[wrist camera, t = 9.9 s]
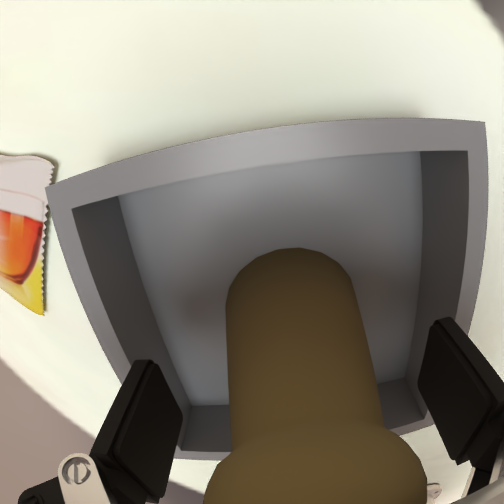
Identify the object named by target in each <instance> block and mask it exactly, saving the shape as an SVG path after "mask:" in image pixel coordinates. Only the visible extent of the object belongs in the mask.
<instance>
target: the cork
mask: <svg viewBox="0 0 504 504" xmlns="http://www.w3.org/2000/svg"><path fill="white" fill-rule="evenodd" d="M225 312H226V343H227V369H228V391H229V410H230V428H231V445H232V452H231V453H230V454H229V455H228V456H227V457H226V458H224V459H223V460H222V461H221V462H220V463H218V464H217V466H216V468H215V471H214V473H213V475H212V477H211V479H210V481H209V483H208V485H207V488H206V492H205V495H204V500H203V504H426V503H427V478H426V475H425V472H424V469H423V467H422V464H421V461H420V459H419V458H418V456H417V455H416V454H415V453H414V451H413V450H412V449H411V447H410V446H409V445H408V444H407V443H406V442H405V441H404V440H403V439H402V438H401V437H399V436H398V435H397V434H396V433H394V432H392V431H390V430H388V429H386V428H385V427H384V421H383V415H382V409H381V403H380V398H379V393H378V387H377V382H376V377H375V373H374V368H373V363H372V359H371V354H370V350H369V345H368V341H367V337H366V333H365V329H364V325H363V321H362V317H361V313H360V309H359V305H358V302H357V298H356V294H355V291H354V287H353V284H352V281H351V278H350V276H349V275H348V274H347V273H346V271H345V270H344V269H343V267H342V266H341V265H340V264H339V263H338V262H337V261H335V260H333V259H332V258H330V257H328V256H327V255H325V254H324V253H322V252H318V251H314V250H310V249H305V248H301V247H298V248H286V249H277V250H274V251H271V252H269V253H266V254H264V255H261V256H259V257H256V258H255V259H254V260H252V261H251V262H250V263H249V264H248V265H246V266H245V267H244V268H243V269H241V270H240V271H239V273H238V274H237V276H236V277H235V279H234V281H233V282H232V284H231V285H230V287H229V290H228V295H227V300H226V305H225Z"/></svg>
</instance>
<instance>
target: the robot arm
mask: <svg viewBox="0 0 504 504" xmlns="http://www.w3.org/2000/svg"><path fill="white" fill-rule="evenodd" d="M417 385H418V389H419V392H420V394H421V396H422V398H423V400H424V402H425V404H426V406H427V408H428V410H429V412H430V414H431V416H432V419H433V421H434V423H435V425H436V427H437V429H438V432H439V434H440V436H441V438H442V441H443V443H444V445H445V447H446V450H447V452H448V454H449V457H450V458H451V459H452V460H455V461H456V464H457V465H460V464H462V463H464V462H466V461H468V460H470V463H471V465H472V468H471V472H470V475H469V478H468V480H467V483H466V486H465V489H464V492H463V494H462V497H461V499H459V500H457V501H455V502H453V503H451V504H504V382H503V381H502V380H501V378H500V377H499V375H498V374H497V373H496V371H495V370H494V369H493V367H492V366H491V365H490V363H489V362H488V361H487V360H486V358H485V357H484V356H483V355H482V353H481V352H480V351H479V349H478V348H477V347H476V346H475V345H474V343H473V342H472V341H471V340H470V338H469V337H468V336H467V335H466V334H465V332H464V331H463V330H462V329H461V328H460V326H459V325H458V324H457V323H456V322H455V321H454V320H453V318H451V317H445V318H441V319H438V320H435V321H434V323H433V325H432V326H430V328H429V333H428V338H427V343H426V348H425V352H424V357H423V361H422V365H421V369H420V373H419V377H418V381H417ZM182 422H183V414H182V411H181V409H180V407H179V406H178V404H177V402H176V400H175V398H174V396H173V394H172V392H171V390H170V388H169V386H168V383H167V381H166V379H165V377H164V375H163V373H162V371H161V369H160V366H159V365H158V364H156V363H154V361H153V360H151V359H140V360H135V361H134V362H133V364H132V366H131V368H130V370H129V372H128V374H127V376H126V378H125V380H124V382H123V384H122V386H121V388H120V390H119V392H118V394H117V396H116V398H115V400H114V402H113V404H112V406H111V408H110V410H109V412H108V415H107V417H106V419H105V421H104V423H103V425H102V427H101V429H100V431H99V434H98V436H97V438H96V440H95V442H94V444H93V447H92V449H91V452H90V455H89V456H88V455H86V454H83V453H75V454H72V455H69V456H67V457H66V458H65V459H64V460H63V461H62V462H61V464H60V466H59V469H58V477H55V478H53V479H51V480H48V481H46V482H44V483H41V484H39V485H37V486H34V487H32V488H29V489H27V490H25V491H24V492H23V493H22V494H21V495H20V497H19V499H18V504H145V502H150V503H156V504H158V503H159V499H160V498H162V497H163V496H164V494H165V491H166V487H167V483H168V479H169V474H170V470H171V466H172V462H173V458H174V454H175V450H176V446H177V442H178V438H179V434H180V430H181V426H182ZM441 491H442V490H441V487H440V485H438V484H433V485H427V503H426V504H435V502H434V499H435V498H436V497H437V496H438V495H439V494H440V493H441Z"/></svg>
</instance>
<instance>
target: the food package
mask: <svg viewBox="0 0 504 504" xmlns="http://www.w3.org/2000/svg"><path fill="white" fill-rule="evenodd" d="M53 168H54V166H53V165H52V164H51V163H50V162H49V161H48V160H46V159H43V158H40V157H37V156H32V155H25V156H5V155H0V288H1V289H3V290H4V291H5V292H7V293H8V294H9V295H10V296H12V297H13V298H14V299H15V300H17V301H18V302H19V303H21V304H22V305H23V306H25V307H26V308H28V309H30V310H31V311H33V312H34V313H36V314H39V315H43V316H45V315H44V314H43V313H44V311H43V310H44V308H43V306H44V305H43V303H44V302H43V300H42V299H44V297H43V295H42V293H43V292H44V291H43V289H42V287H43V286H44V285H43V282H42V280H43V279H44V278H43V276H42V274H43V273H44V271H43V269H42V267H43V266H44V264H43V261H42V260H43V259H44V256H43V252H44V251H45V250H44V247H43V245H44V244H45V241H44V237H45V236H46V235H45V232H44V230H45V229H46V225H45V221H46V220H47V217H46V213H47V212H48V209H47V204H48V200H47V196H46V192H45V187H47V186H49V185H50V183H52V181H51V178H53V176H52V173H53V172H54V171H53Z"/></svg>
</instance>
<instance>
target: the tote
mask: <svg viewBox="0 0 504 504" xmlns="http://www.w3.org/2000/svg"><path fill="white" fill-rule="evenodd" d="M45 192H46V196H47V200H48V204H49V208H50V212H51V216H52V219H53V223H54V226H55V230H56V233H57V236H58V240H59V243H60V246H61V249H62V252H63V255H64V258H65V261H66V264H67V267H68V270H69V272H70V275H71V278H72V280H73V283H74V286H75V288H76V291H77V293H78V296H79V298H80V301H81V303H82V305H83V308H84V310H85V312H86V315H87V317H88V319H89V321H90V324H91V326H92V328H93V330H94V332H95V334H96V336H97V339H98V341H99V343H100V345H101V347H102V349H103V351H104V353H105V355H106V357H107V358H108V360H109V362H110V364H111V366H112V368H113V370H114V372H115V373H116V375H117V377H118V379H119V381H120V382H121V384H123V382H124V380H125V378H126V376H127V374H128V372H129V370H130V368H131V366H132V364H133V362H134V361H135V360H140V359H151V360H153V361H154V363H156V364H158V365H159V366H160V369H161V371H162V373H163V375H164V377H165V379H166V381H167V383H168V386H169V388H170V390H171V392H172V394H173V396H174V398H175V400H176V402H177V404H178V406H179V407H180V409H181V411H182V414H183V422H182V426H181V430H180V434H179V438H178V442H177V446H176V450H175V454H174V458H176V459H191V460H223V459H224V458H226V457H227V456H228V455H229V454H230V453H231V452H232V445H231V428H230V410H229V391H228V369H227V343H226V312H225V305H226V300H227V295H228V290H229V287H230V285H231V284H232V282H233V281H234V279H235V277H236V276H237V274H238V273H239V271H240V270H241V269H243V268H244V267H245V266H246V265H248V264H249V263H250V262H251V261H252V260H254V259H255V258H256V257H259V256H261V255H264V254H266V253H269V252H271V251H274V250H277V249H286V248H298V247H301V248H305V249H310V250H314V251H318V252H322V253H324V254H325V255H327V256H328V257H330V258H332V259H333V260H335V261H337V262H338V263H339V264H340V265H341V266H342V267H343V269H344V270H345V271H346V273H347V274H348V275H349V276H350V278H351V281H352V284H353V287H354V291H355V294H356V298H357V302H358V305H359V309H360V313H361V317H362V321H363V325H364V329H365V333H366V337H367V341H368V345H369V350H370V354H371V359H372V363H373V368H374V373H375V377H376V382H377V387H378V393H379V398H380V403H381V409H382V415H383V421H384V427H385V428H386V429H388V430H390V431H392V432H394V433H396V434H397V435H398V436H400V435H403V434H406V433H410V432H413V431H416V430H419V429H422V428H425V427H428V426H431V425H433V424H435V423H434V421H433V419H432V416H431V414H430V412H429V410H428V408H427V406H426V404H425V402H424V400H423V398H422V396H421V394H420V392H419V389H418V385H417V381H418V377H419V373H420V369H421V365H422V361H423V357H424V352H425V348H426V343H427V338H428V333H429V328H430V326H432V325H433V323H434V321H435V320H438V319H441V318H445V317H451V318H453V320H454V321H455V322H456V323H457V324H458V325H459V326H460V328H461V329H462V330H463V331H464V332H465V334H466V335H467V336H468V332H469V329H470V325H471V321H472V317H473V312H474V308H475V303H476V299H477V294H478V289H479V283H480V277H481V271H482V264H483V257H484V249H485V240H486V229H487V214H488V153H487V138H486V128H485V122H480V121H469V120H454V119H434V118H375V119H353V120H338V121H325V122H314V123H305V124H296V125H287V126H280V127H272V128H265V129H259V130H252V131H246V132H240V133H235V134H229V135H224V136H219V137H214V138H209V139H204V140H199V141H195V142H190V143H186V144H181V145H177V146H173V147H169V148H165V149H161V150H157V151H153V152H150V153H146V154H142V155H139V156H135V157H132V158H128V159H125V160H121V161H118V162H115V163H112V164H108V165H105V166H102V167H99V168H96V169H93V170H90V171H87V172H84V173H82V174H79V175H76V176H73V177H70V178H68V179H65V180H62V181H60V182H57V183H54V184H52V185H49V186H47V187H45Z"/></svg>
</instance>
